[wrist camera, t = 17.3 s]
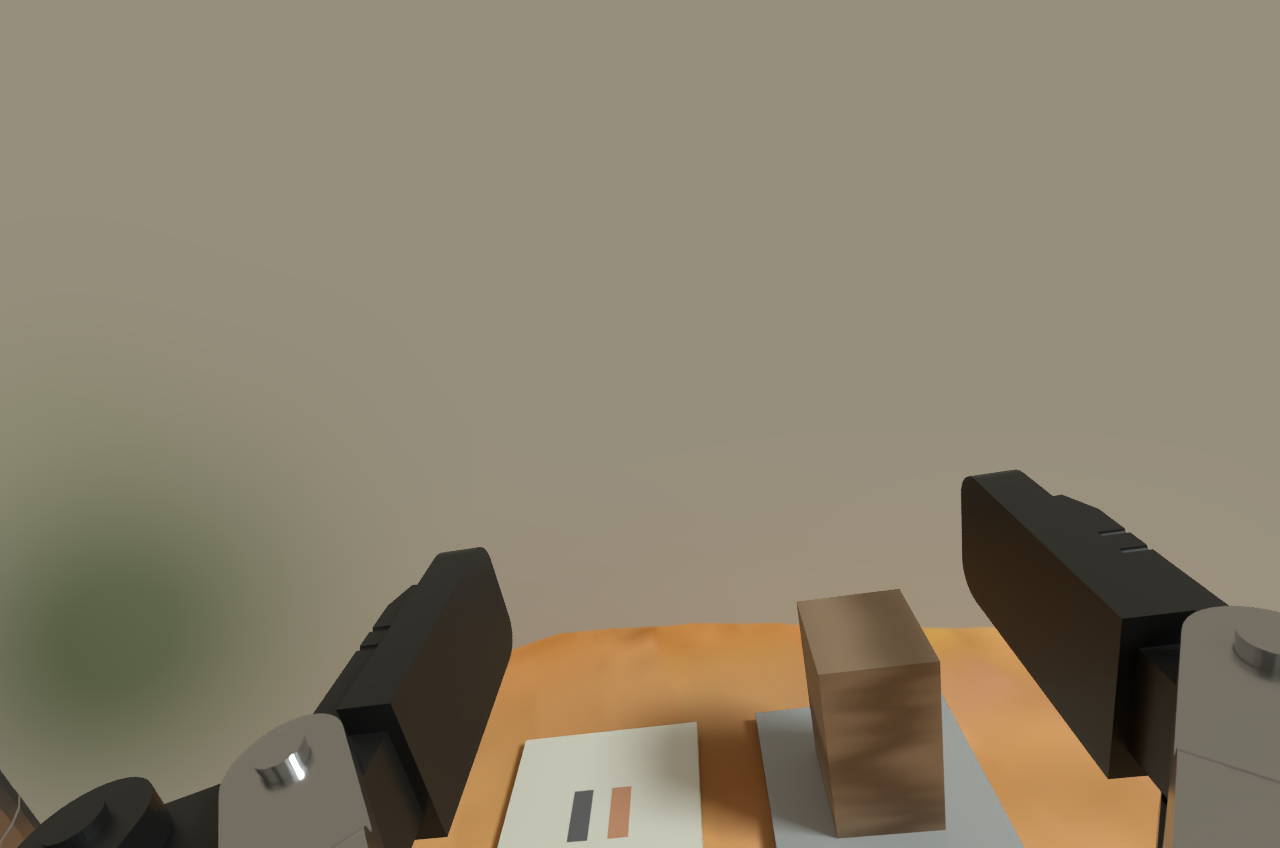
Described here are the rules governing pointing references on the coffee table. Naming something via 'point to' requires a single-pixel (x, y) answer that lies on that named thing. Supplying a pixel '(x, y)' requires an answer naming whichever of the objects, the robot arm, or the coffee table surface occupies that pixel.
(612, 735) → the white tile
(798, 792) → the grey mat
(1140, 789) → the coffee table surface
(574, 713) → the coffee table surface
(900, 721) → the walnut block
